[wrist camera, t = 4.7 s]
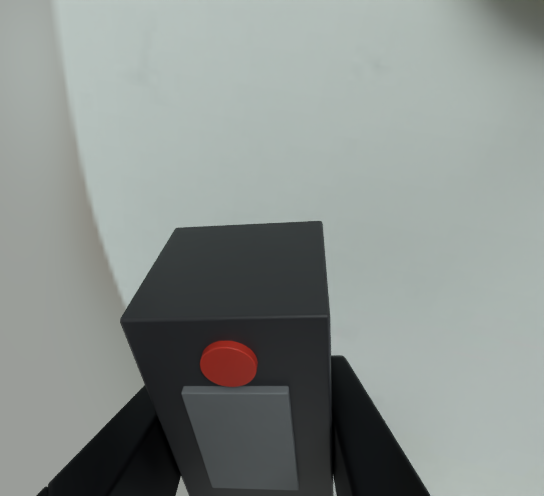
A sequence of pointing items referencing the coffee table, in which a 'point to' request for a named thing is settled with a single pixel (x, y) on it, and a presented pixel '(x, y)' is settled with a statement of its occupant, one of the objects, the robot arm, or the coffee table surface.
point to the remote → (240, 357)
